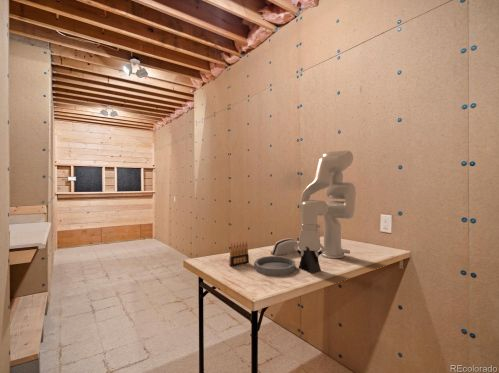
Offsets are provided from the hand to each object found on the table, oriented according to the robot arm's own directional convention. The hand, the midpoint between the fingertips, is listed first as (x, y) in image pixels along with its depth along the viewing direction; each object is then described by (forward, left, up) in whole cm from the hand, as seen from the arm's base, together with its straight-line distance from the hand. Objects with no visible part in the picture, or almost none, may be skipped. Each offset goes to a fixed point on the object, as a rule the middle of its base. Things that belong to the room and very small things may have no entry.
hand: (309, 263), depth 124 cm
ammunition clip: (+36, -1, -3) cm, 36 cm away
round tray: (+17, +1, -3) cm, 17 cm away
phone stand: (0, 0, -3) cm, 3 cm away
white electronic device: (+14, -26, -3) cm, 30 cm away
